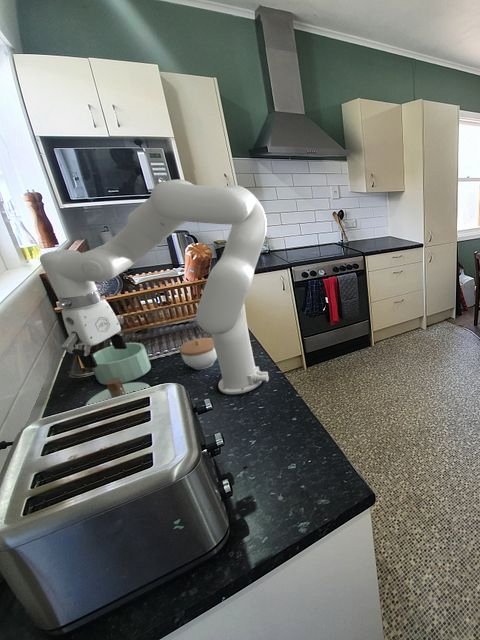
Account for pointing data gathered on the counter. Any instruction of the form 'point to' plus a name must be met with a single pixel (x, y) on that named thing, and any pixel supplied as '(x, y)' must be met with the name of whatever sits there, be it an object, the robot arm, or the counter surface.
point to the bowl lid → (117, 390)
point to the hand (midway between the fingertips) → (106, 357)
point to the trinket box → (198, 353)
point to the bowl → (121, 363)
